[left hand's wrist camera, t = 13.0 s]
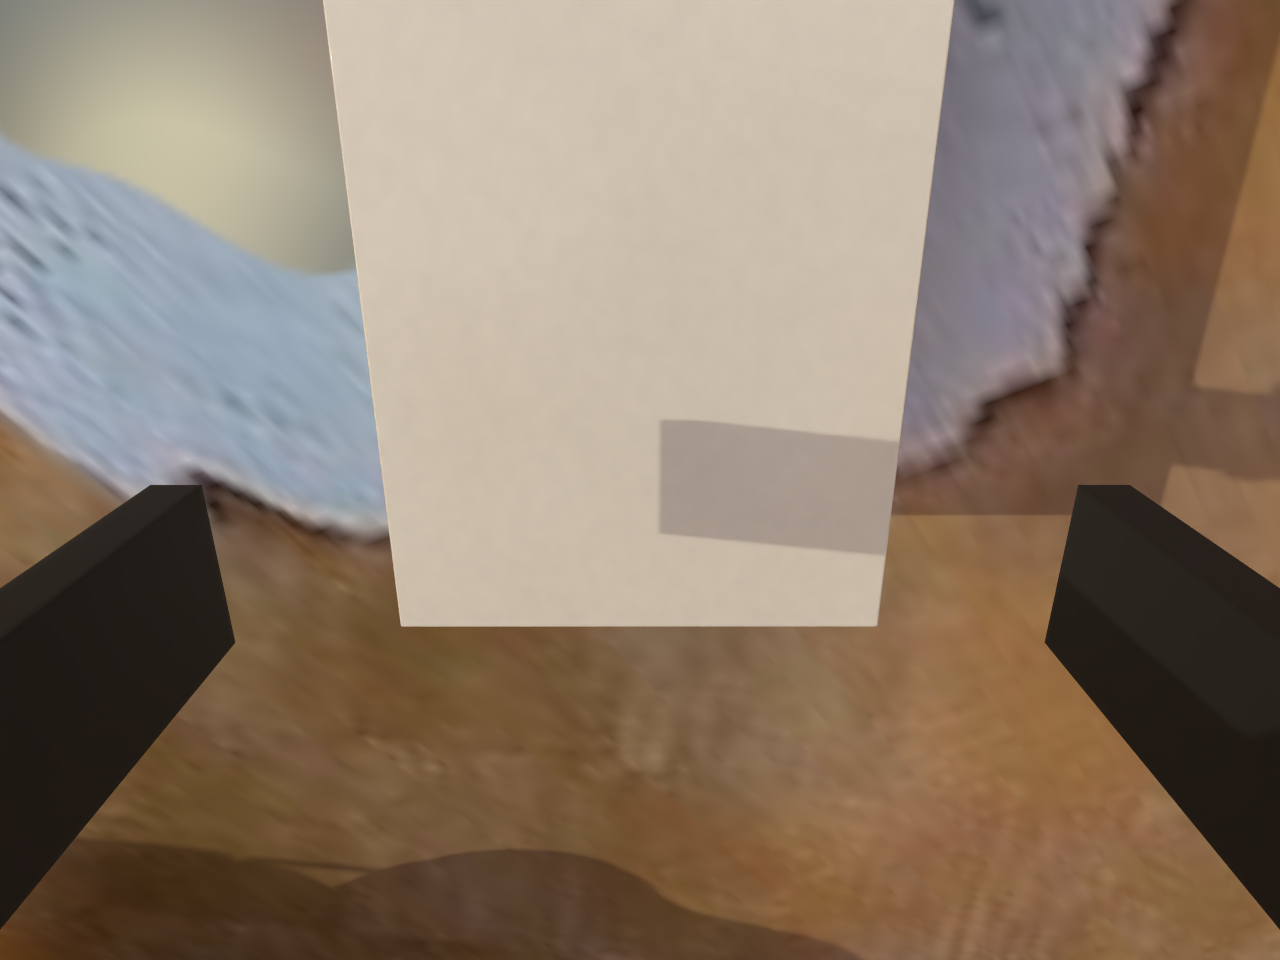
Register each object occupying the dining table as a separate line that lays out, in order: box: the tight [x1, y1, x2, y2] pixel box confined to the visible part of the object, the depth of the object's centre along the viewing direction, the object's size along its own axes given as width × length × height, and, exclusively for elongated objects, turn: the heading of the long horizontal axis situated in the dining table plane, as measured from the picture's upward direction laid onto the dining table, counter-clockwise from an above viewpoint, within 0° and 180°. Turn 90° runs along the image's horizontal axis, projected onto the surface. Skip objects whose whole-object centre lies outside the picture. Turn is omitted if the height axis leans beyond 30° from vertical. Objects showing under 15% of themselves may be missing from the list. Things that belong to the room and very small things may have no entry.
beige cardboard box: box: [323, 0, 955, 626], centre depth 21 cm, size 19×11×10 cm, turn 0°
